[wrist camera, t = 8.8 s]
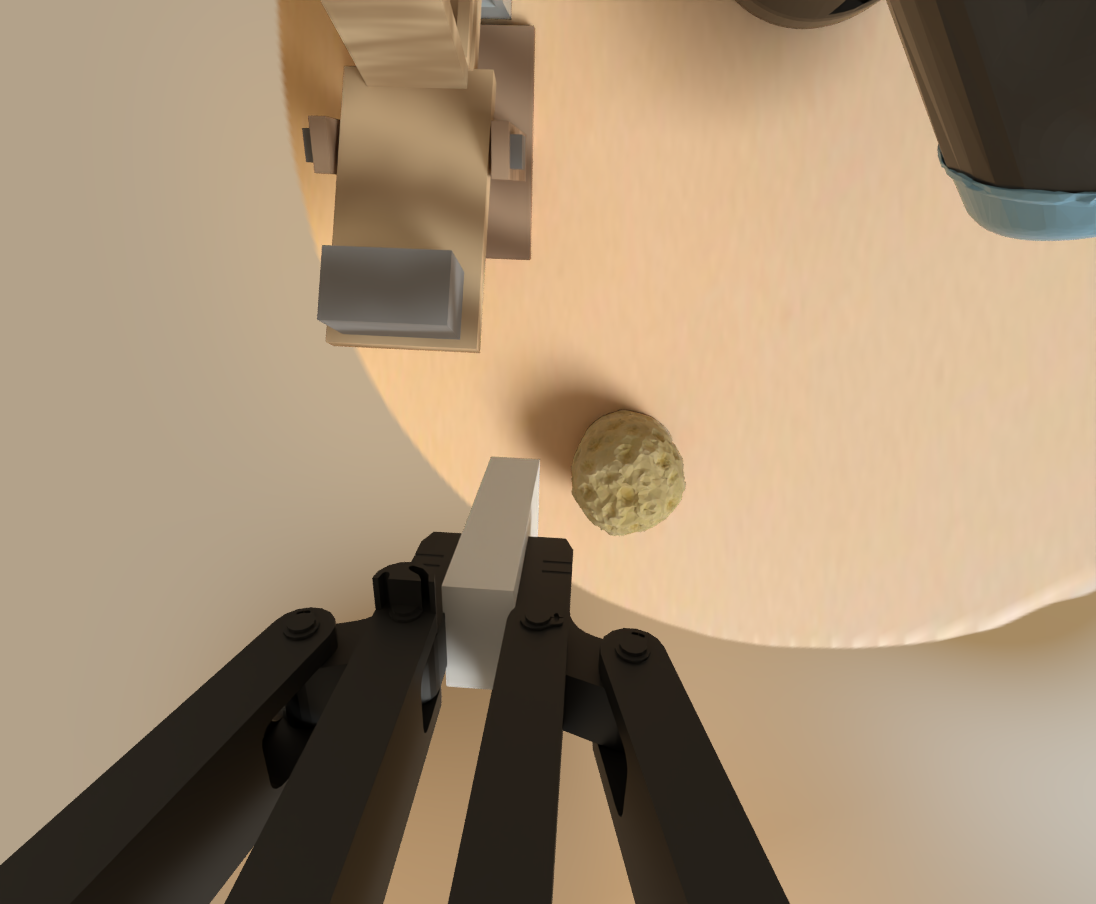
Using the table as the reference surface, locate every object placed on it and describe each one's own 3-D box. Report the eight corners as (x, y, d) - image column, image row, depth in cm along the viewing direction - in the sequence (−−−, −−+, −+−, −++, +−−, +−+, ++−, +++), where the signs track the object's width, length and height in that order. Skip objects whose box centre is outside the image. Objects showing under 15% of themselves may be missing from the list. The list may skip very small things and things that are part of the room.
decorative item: (594, 398, 55) (526, 456, 49) (687, 390, 48) (620, 455, 42) (628, 485, 59) (568, 548, 53) (719, 489, 52) (662, 562, 46)
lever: (479, 353, 36) (446, 313, 27) (333, 345, 37) (252, 304, 28) (501, -5, 37) (476, -161, 28) (357, -7, 37) (285, -163, 28)
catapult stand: (534, 259, 47) (519, 277, 37) (370, 252, 48) (314, 268, 38) (539, 28, 41) (522, -21, 31) (351, 25, 42) (279, -25, 32)
